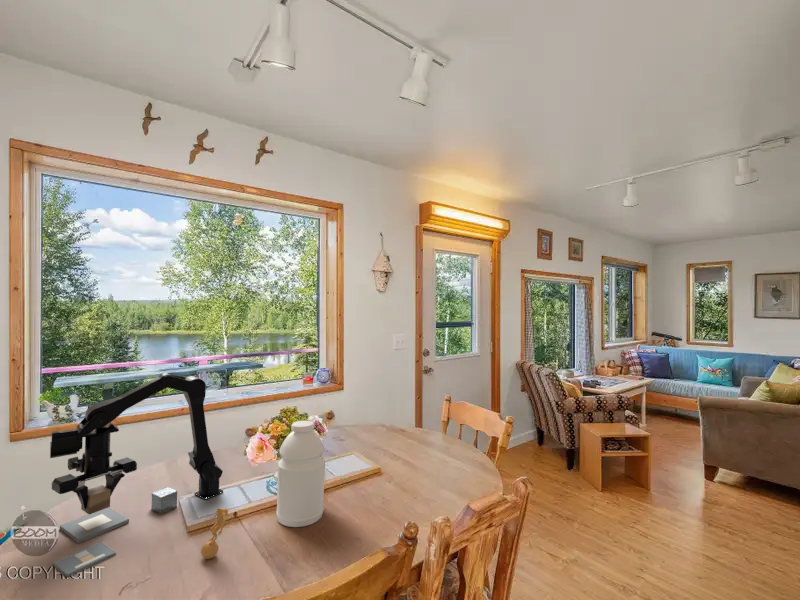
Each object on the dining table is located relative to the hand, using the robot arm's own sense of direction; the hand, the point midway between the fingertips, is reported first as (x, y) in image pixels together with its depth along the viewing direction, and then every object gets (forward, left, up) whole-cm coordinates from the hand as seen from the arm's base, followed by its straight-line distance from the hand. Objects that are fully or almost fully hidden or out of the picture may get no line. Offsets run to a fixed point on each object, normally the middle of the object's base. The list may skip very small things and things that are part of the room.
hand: (95, 504), depth 113 cm
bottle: (-44, -36, -6) cm, 57 cm away
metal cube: (-6, -16, -6) cm, 18 cm away
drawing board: (-15, +8, -6) cm, 18 cm away
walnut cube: (0, 0, -1) cm, 1 cm away
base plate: (0, 0, -6) cm, 6 cm away
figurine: (-40, -10, -6) cm, 42 cm away
